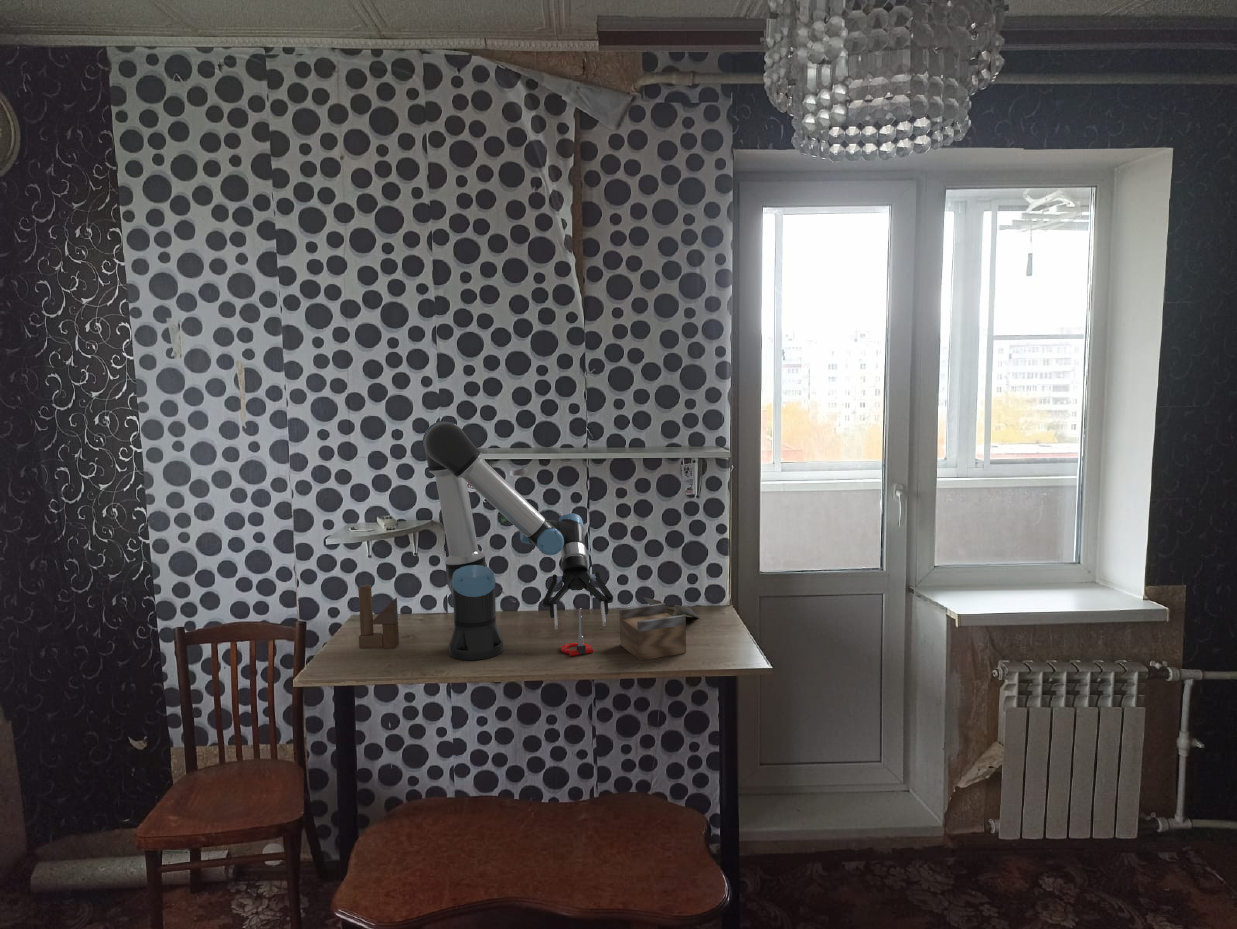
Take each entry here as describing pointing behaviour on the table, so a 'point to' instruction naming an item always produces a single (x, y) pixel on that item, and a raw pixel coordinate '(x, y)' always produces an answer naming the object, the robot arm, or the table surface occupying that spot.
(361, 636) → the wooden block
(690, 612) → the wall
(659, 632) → the open wooden crate
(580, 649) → the tow hook
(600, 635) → the table surface
